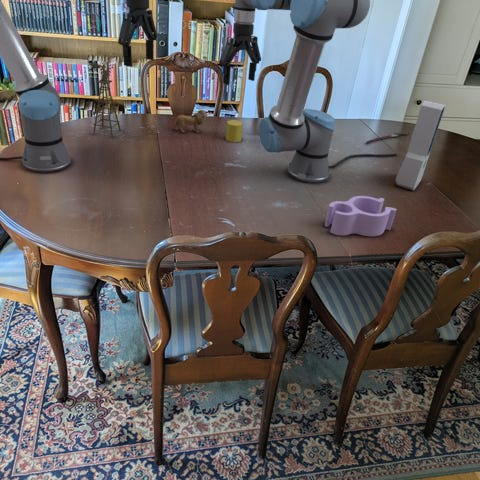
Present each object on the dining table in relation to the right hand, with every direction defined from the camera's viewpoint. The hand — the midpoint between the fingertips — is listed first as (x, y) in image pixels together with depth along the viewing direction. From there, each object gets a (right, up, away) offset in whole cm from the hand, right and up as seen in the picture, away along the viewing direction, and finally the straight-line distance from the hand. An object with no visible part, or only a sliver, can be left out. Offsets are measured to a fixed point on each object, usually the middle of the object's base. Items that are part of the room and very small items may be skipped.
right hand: (239, 82), depth 183 cm
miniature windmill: (-53, -18, +6) cm, 57 cm away
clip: (+36, -58, -40) cm, 79 cm away
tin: (-2, -20, +13) cm, 24 cm away
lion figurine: (-21, -16, +16) cm, 31 cm away
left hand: (-35, 0, -19) cm, 40 cm away
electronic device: (+63, -41, -9) cm, 75 cm away
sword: (+68, -16, +31) cm, 76 cm away
